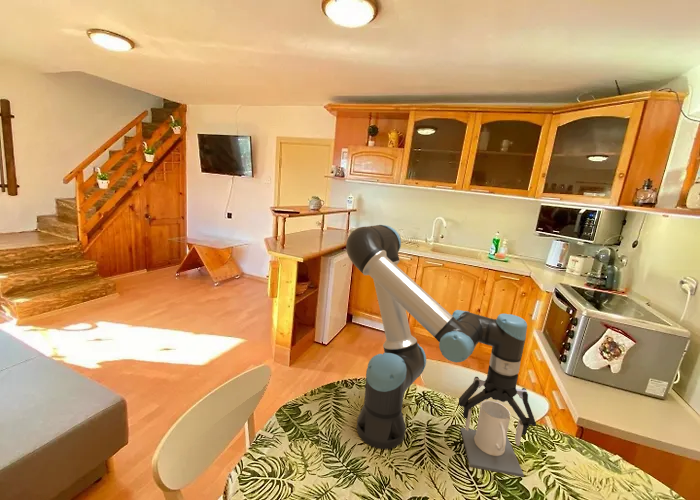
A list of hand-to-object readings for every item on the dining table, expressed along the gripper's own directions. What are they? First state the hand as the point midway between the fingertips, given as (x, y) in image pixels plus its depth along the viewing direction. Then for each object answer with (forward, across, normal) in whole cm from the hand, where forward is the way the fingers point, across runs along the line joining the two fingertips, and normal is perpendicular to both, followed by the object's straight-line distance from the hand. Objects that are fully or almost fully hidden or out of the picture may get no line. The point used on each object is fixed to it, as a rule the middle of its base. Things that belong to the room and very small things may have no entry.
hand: (491, 434), depth 91 cm
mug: (+5, +1, 0) cm, 5 cm away
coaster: (+5, 0, 0) cm, 6 cm away
